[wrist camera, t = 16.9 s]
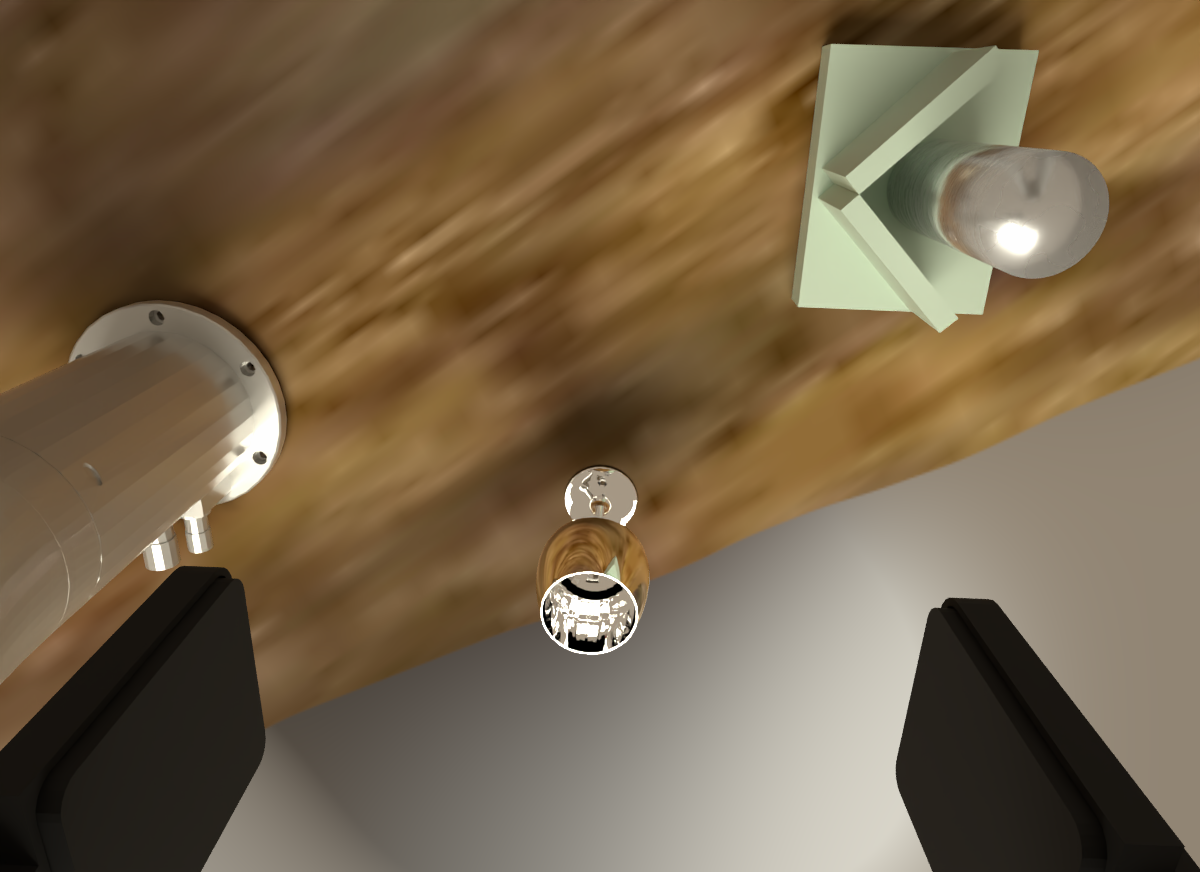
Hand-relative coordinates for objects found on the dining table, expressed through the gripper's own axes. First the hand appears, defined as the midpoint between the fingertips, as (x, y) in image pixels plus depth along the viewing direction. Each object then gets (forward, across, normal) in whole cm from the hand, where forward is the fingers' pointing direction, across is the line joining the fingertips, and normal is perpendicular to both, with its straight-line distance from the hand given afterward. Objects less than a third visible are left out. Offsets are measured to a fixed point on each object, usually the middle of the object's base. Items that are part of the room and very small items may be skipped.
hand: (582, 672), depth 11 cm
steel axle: (+33, -16, -4) cm, 37 cm away
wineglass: (+36, 0, +15) cm, 39 cm away
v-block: (+35, -15, -4) cm, 38 cm away
